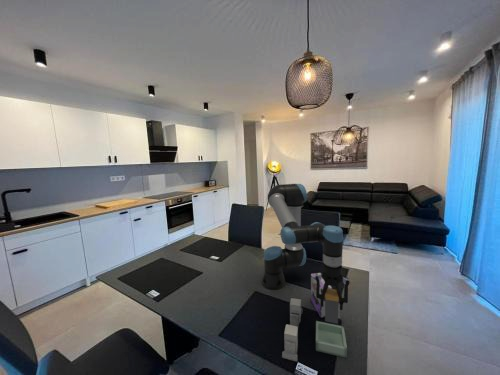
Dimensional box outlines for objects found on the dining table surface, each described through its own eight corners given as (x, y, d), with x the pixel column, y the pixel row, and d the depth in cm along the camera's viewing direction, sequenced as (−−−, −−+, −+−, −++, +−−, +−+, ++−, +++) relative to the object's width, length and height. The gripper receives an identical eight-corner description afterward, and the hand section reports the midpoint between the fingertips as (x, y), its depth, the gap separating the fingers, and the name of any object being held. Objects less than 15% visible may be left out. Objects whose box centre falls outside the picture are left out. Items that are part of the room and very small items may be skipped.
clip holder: (282, 357, 85) (282, 344, 85) (290, 309, 112) (290, 299, 111) (297, 361, 84) (297, 348, 83) (302, 312, 110) (302, 301, 109)
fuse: (325, 321, 88) (325, 295, 87) (324, 313, 93) (325, 288, 92) (337, 323, 87) (338, 297, 85) (336, 315, 92) (337, 289, 90)
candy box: (310, 299, 120) (310, 273, 117) (320, 299, 120) (320, 272, 118) (320, 318, 106) (320, 288, 104) (331, 317, 106) (332, 287, 104)
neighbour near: (284, 352, 88) (284, 333, 87) (286, 342, 93) (286, 324, 91) (296, 355, 86) (296, 336, 85) (297, 345, 91) (297, 326, 90)
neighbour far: (290, 320, 105) (289, 304, 104) (291, 313, 109) (291, 297, 108) (300, 322, 103) (300, 306, 102) (301, 315, 108) (301, 299, 107)
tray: (315, 350, 88) (315, 342, 88) (316, 328, 99) (316, 320, 99) (346, 358, 84) (347, 349, 84) (343, 334, 96) (343, 326, 95)
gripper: (309, 265, 86) (309, 316, 89) (357, 270, 81) (355, 325, 84) (310, 256, 93) (309, 304, 96) (354, 261, 88) (352, 312, 91)
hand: (331, 314), depth 90 cm, fingers closed on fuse, 5 cm apart
